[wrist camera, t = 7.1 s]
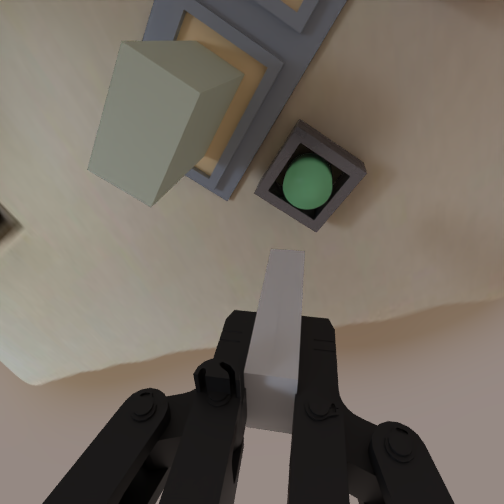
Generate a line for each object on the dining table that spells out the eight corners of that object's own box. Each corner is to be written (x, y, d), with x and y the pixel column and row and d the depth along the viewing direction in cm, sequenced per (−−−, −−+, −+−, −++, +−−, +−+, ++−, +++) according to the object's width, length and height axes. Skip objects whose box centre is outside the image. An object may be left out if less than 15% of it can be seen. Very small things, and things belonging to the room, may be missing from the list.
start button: (313, 204, 27) (312, 217, 25) (277, 181, 27) (273, 192, 25) (341, 169, 25) (342, 181, 23) (303, 144, 25) (301, 153, 23)
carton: (204, 156, 27) (150, 207, 19) (161, 129, 27) (87, 169, 18) (244, 74, 23) (200, 93, 15) (195, 40, 23) (121, 41, 14)
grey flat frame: (228, 199, 29) (225, 204, 28) (117, 130, 28) (110, 133, 27) (466, -200, 16) (474, -215, 15) (272, -380, 14) (268, -408, 13)
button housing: (316, 218, 29) (316, 232, 27) (259, 182, 28) (254, 193, 26) (363, 162, 25) (366, 173, 23) (299, 118, 25) (297, 126, 23)
